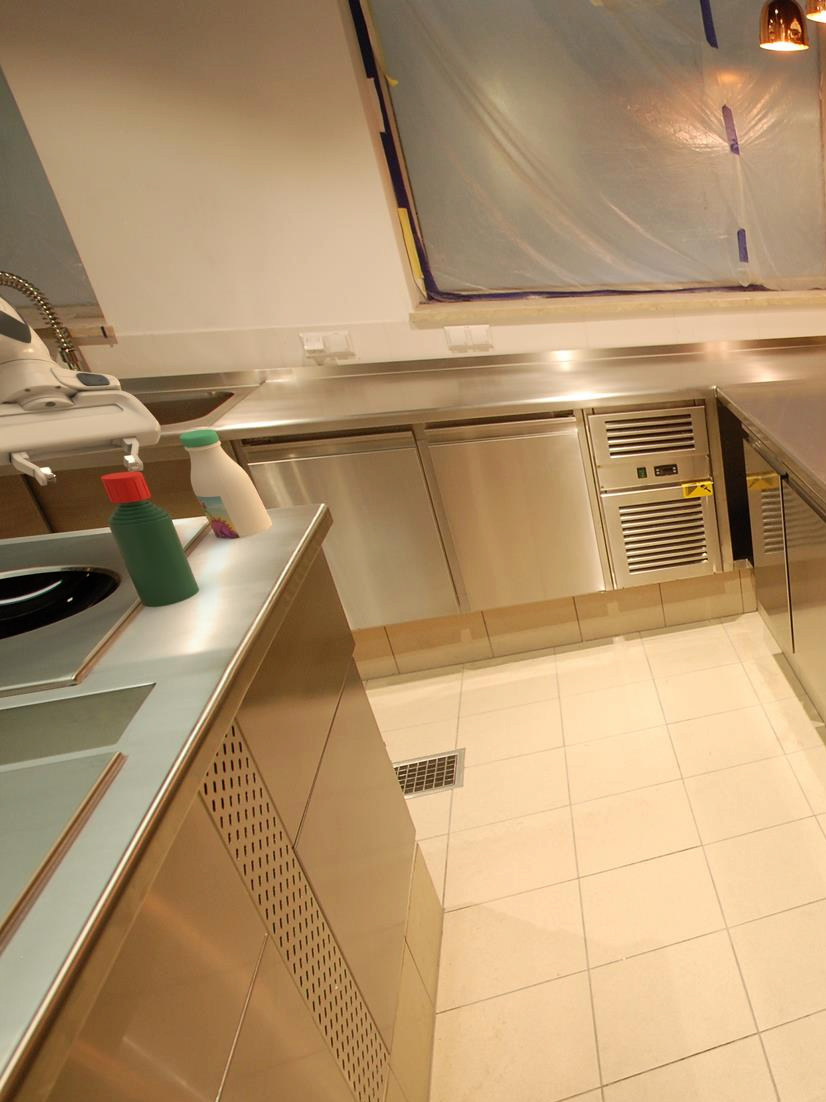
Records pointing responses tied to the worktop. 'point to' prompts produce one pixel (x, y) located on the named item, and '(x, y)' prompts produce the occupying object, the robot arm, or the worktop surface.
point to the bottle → (152, 553)
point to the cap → (126, 487)
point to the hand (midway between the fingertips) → (94, 475)
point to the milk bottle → (223, 488)
